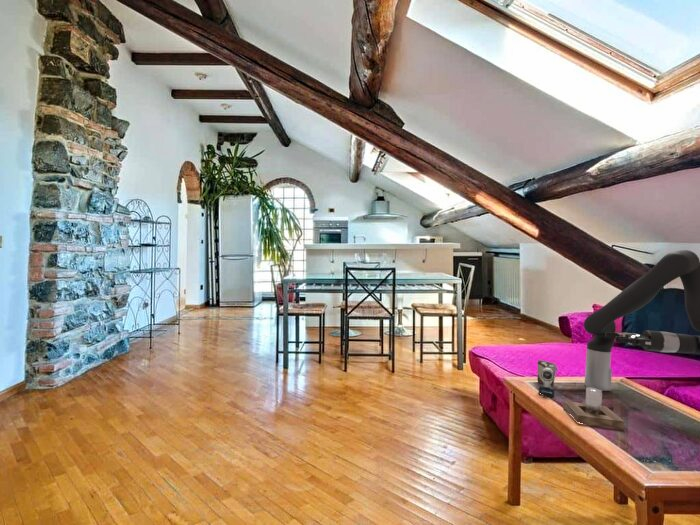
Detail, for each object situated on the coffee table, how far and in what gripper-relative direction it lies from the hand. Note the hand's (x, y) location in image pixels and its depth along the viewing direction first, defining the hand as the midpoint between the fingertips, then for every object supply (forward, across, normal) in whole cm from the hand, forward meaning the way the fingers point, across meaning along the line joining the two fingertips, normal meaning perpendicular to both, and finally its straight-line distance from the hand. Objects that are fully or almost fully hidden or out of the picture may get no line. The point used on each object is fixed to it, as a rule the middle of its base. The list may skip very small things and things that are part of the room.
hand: (610, 336), depth 143 cm
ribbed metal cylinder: (+9, +12, +28) cm, 31 cm away
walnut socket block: (+9, +12, +28) cm, 32 cm away
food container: (+14, -23, +28) cm, 39 cm away
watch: (+18, -10, +28) cm, 35 cm away
